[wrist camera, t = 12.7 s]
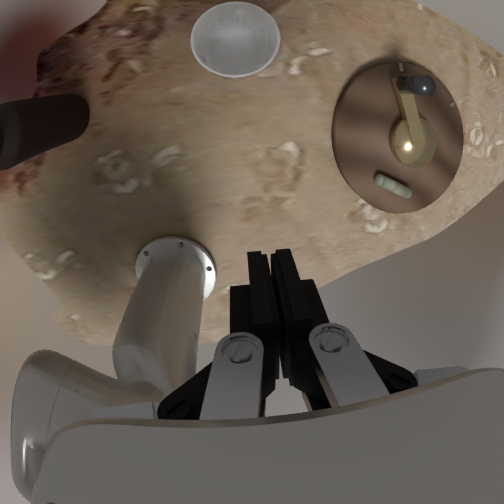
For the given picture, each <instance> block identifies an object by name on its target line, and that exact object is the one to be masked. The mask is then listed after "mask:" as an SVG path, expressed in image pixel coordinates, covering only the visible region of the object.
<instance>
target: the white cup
mask: <svg viewBox="0 0 504 504" xmlns="http://www.w3.org/2000/svg"><path fill="white" fill-rule="evenodd" d="M279 46H280V31H279V28H278V25H277V23H276V22H275V20H274V19H273V17H272V16H271V15H270V14H269V13H268V12H266V11H265V10H264V9H262V8H260V7H259V6H256V5H254V4H251V3H247V2H238V1H235V2H226V3H222V4H219V5H216V6H214V7H212V8H210V9H209V10H207V11H206V12H205V13H203V14H202V15H201V16H200V18H199V19H198V20H197V21H196V23H195V25H194V27H193V29H192V33H191V48H192V51H193V54H194V56H195V58H196V59H197V61H198V62H199V63H200V64H201V65H202V66H203V67H204V68H206V69H207V70H209V71H210V72H212V73H214V74H216V75H218V76H220V77H223V78H227V79H242V78H246V77H249V76H251V75H253V74H255V73H257V72H259V71H261V70H262V69H264V68H265V67H266V66H268V65H269V64H270V63H271V62H272V60H273V59H274V58H275V56H276V54H277V52H278V50H279Z"/></svg>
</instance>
